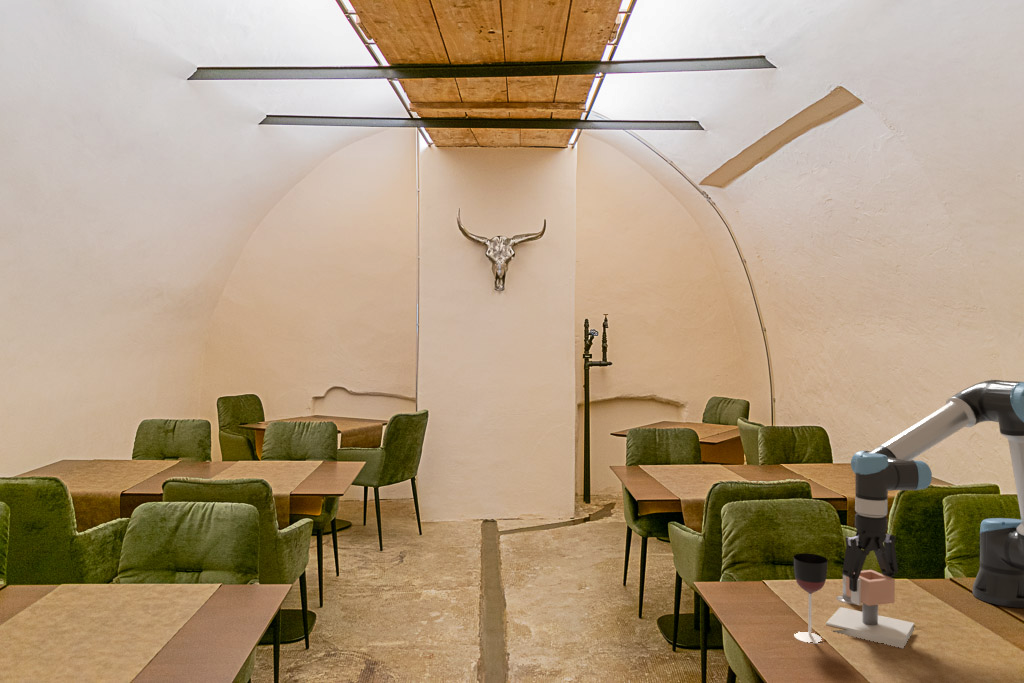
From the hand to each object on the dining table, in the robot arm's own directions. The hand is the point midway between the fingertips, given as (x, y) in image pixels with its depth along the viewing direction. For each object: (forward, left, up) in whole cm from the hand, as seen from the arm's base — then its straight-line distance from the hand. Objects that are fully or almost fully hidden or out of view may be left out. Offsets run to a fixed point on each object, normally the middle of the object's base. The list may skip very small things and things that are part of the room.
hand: (869, 601), depth 193 cm
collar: (0, 0, +1) cm, 1 cm away
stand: (+9, -16, -7) cm, 20 cm away
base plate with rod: (0, 0, -7) cm, 7 cm away
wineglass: (+11, +14, -8) cm, 19 cm away
